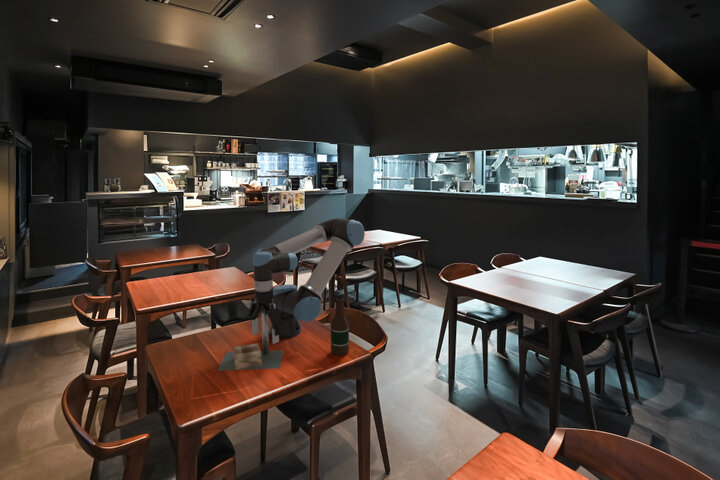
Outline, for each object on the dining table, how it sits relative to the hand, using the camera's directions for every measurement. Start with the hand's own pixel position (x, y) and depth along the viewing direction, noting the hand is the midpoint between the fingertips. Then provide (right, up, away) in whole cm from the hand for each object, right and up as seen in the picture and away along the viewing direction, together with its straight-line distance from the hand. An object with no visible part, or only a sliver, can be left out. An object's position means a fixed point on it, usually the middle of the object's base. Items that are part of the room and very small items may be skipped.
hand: (265, 338), depth 165 cm
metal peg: (0, -7, +1) cm, 7 cm away
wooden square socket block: (-6, -8, -6) cm, 12 cm away
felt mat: (-4, -8, -5) cm, 10 cm away
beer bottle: (+31, -7, +4) cm, 32 cm away
